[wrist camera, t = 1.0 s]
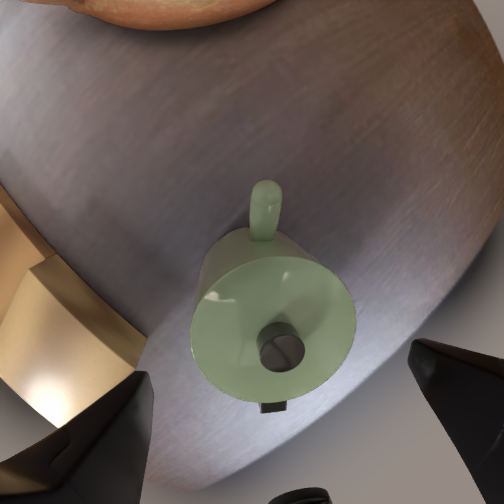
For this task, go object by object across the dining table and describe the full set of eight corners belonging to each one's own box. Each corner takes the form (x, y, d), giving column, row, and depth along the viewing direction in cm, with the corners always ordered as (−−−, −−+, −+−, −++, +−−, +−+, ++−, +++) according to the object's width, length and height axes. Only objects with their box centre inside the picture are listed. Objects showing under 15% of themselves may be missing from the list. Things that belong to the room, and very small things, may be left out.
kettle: (304, 342, 19) (349, 425, 11) (206, 351, 18) (204, 445, 10) (307, 179, 16) (379, 179, 9) (192, 183, 16) (169, 183, 8)
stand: (147, 338, 17) (135, 369, 14) (81, 407, 18) (67, 435, 15) (-7, 173, 14) (-38, 175, 10) (-46, 271, 14) (-71, 283, 11)
